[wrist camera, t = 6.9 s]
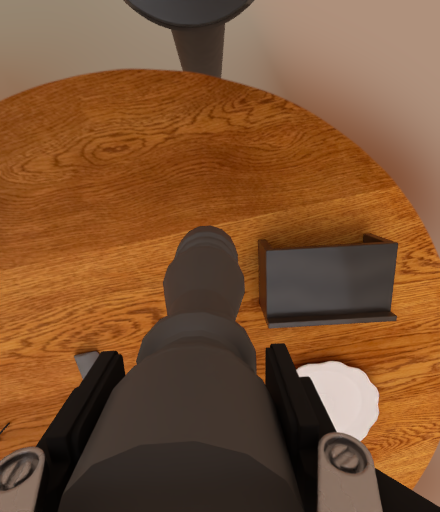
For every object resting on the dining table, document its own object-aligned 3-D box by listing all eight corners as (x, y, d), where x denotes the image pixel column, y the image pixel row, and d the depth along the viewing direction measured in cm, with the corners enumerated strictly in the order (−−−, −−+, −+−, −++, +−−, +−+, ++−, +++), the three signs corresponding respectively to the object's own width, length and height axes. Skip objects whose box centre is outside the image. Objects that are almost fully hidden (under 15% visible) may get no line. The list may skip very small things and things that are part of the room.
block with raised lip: (258, 239, 45) (267, 253, 37) (370, 233, 45) (405, 245, 37) (259, 303, 48) (268, 329, 40) (365, 297, 48) (396, 321, 40)
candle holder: (175, 277, 31) (44, 618, 7) (181, 221, 30) (35, 416, 5) (231, 284, 31) (289, 631, 7) (239, 229, 30) (348, 443, 6)
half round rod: (108, 438, 55) (104, 447, 53) (73, 352, 50) (68, 358, 48) (129, 434, 55) (126, 443, 53) (97, 347, 50) (92, 353, 48)
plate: (246, 430, 55) (247, 438, 53) (293, 341, 50) (296, 346, 48) (341, 460, 57) (345, 468, 56) (395, 377, 52) (400, 384, 51)
